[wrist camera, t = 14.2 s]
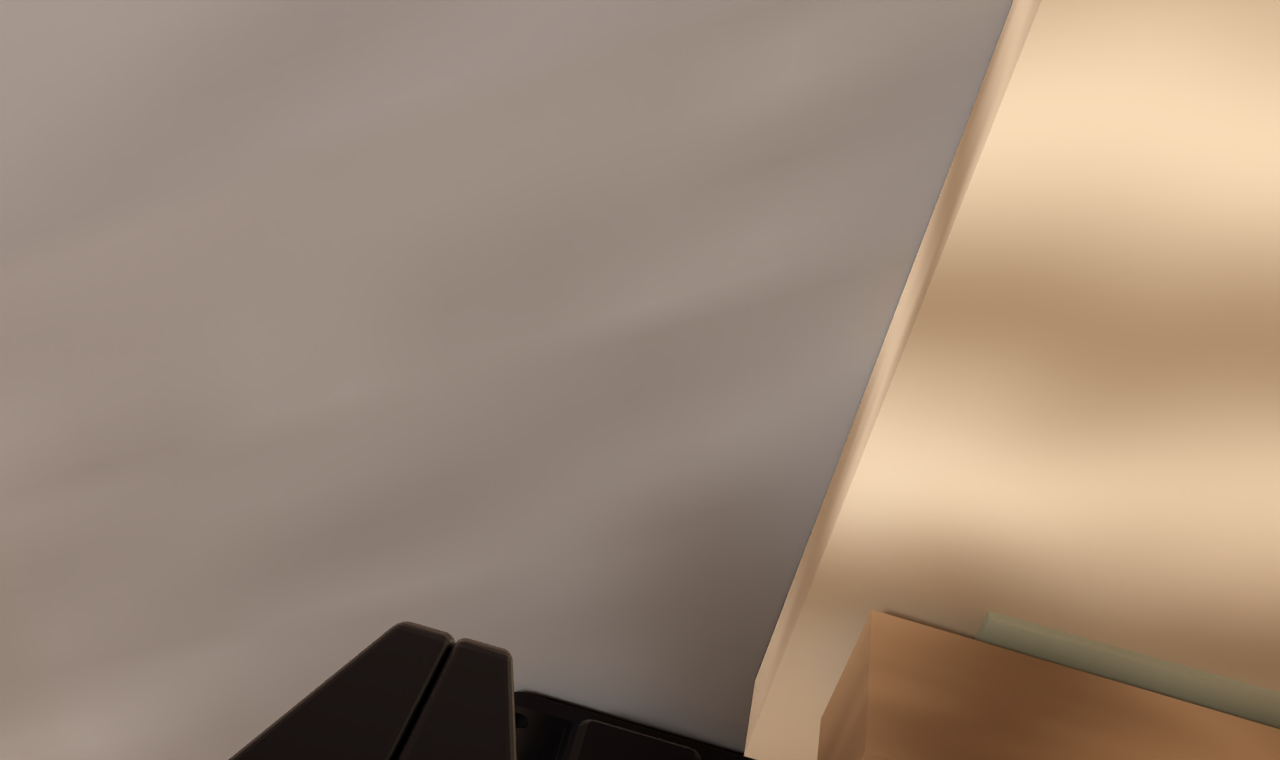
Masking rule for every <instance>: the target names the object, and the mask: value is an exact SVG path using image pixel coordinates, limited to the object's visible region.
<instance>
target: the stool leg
mask: <svg viewBox="0 0 1280 760" xmlns="http://www.w3.org/2000/svg"><path fill="white" fill-rule="evenodd" d="M817 760H1280V729H1277V728H1274V727H1270V726H1267V725H1263V724H1260V723H1257V722H1253V721H1250V720H1246V719H1243V718H1240V717H1236V716H1233V715H1229V714H1226V713H1223V712H1219V711H1216V710H1212V709H1209V708H1206V707H1202V706H1199V705H1195V704H1192V703H1189V702H1185V701H1182V700H1178V699H1175V698H1171V697H1168V696H1165V695H1161V694H1158V693H1154V692H1151V691H1148V690H1144V689H1141V688H1137V687H1134V686H1131V685H1127V684H1124V683H1120V682H1117V681H1114V680H1110V679H1107V678H1103V677H1100V676H1097V675H1093V674H1090V673H1086V672H1083V671H1080V670H1076V669H1073V668H1069V667H1066V666H1062V665H1059V664H1056V663H1052V662H1049V661H1045V660H1042V659H1039V658H1035V657H1032V656H1028V655H1025V654H1022V653H1018V652H1015V651H1011V650H1008V649H1005V648H1001V647H998V646H994V645H991V644H988V643H984V642H981V641H977V640H974V639H971V638H967V637H964V636H960V635H957V634H953V633H950V632H947V631H943V630H940V629H936V628H933V627H930V626H926V625H923V624H919V623H916V622H913V621H909V620H906V619H902V618H899V617H896V616H892V615H889V614H885V613H882V612H879V611H875V610H872V611H871V613H870V615H869V617H868V619H867V621H866V623H865V626H864V628H863V630H862V632H861V634H860V636H859V638H858V640H857V643H856V645H855V647H854V649H853V651H852V653H851V655H850V658H849V660H848V662H847V664H846V666H845V668H844V670H843V672H842V675H841V677H840V679H839V681H838V683H837V685H836V687H835V690H834V692H833V694H832V696H831V698H830V700H829V702H828V705H827V707H826V709H825V711H824V713H823V715H822V717H821V723H820V734H819V745H818V757H817Z"/></svg>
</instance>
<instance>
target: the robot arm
mask: <svg viewBox="0 0 1280 760" xmlns="http://www.w3.org/2000/svg"><path fill="white" fill-rule="evenodd" d="M229 760H756V759H752V758H749V757H745V756H742V755H738V754H735V753H732V752H728V751H725V750H721V749H718V748H714V747H711V746H707V745H704V744H701V743H697V742H694V741H690V740H687V739H683V738H680V737H676V736H673V735H669V734H666V733H663V732H659V731H656V730H652V729H649V728H645V727H642V726H638V725H635V724H632V723H628V722H625V721H621V720H618V719H614V718H611V717H607V716H604V715H601V714H597V713H594V712H590V711H587V710H583V709H580V708H576V707H573V706H569V705H566V704H563V703H559V702H556V701H552V700H549V699H545V698H542V697H538V696H535V695H532V694H528V693H523V692H514V681H513V661H512V656H511V654H510V653H509V652H508V651H507V650H505V649H503V648H499V647H496V646H492V645H489V644H485V643H482V642H478V641H475V640H471V639H467V638H463V639H460V640H458V641H457V642H456V643H455V641H454V638H453V637H452V636H451V635H450V634H448V633H447V632H444V631H440V630H437V629H433V628H430V627H426V626H423V625H419V624H416V623H412V622H402V623H398V624H396V625H395V626H393V627H392V628H390V629H389V630H388V631H387V632H385V633H384V634H383V635H382V636H380V637H379V638H378V639H377V640H375V641H374V642H373V643H372V644H371V645H369V646H368V647H367V648H366V649H364V650H363V651H362V652H361V653H359V654H358V655H357V656H356V657H355V658H353V659H352V660H351V661H350V662H348V663H347V664H346V665H345V666H343V667H342V668H341V669H340V670H339V671H337V672H336V673H335V674H334V675H332V676H331V677H330V678H329V679H327V680H326V681H325V682H324V683H322V684H321V685H320V686H319V687H318V688H316V689H315V690H314V691H313V692H311V693H310V694H309V695H308V696H306V697H305V698H304V699H303V700H302V701H300V702H299V703H298V704H297V705H295V706H294V707H293V708H292V709H290V710H289V711H288V712H287V713H286V714H284V715H283V716H282V717H281V718H279V719H278V720H277V721H276V722H274V723H273V724H272V725H271V726H270V727H268V728H267V729H266V730H265V731H263V732H262V733H261V734H260V735H258V736H257V737H256V738H255V739H253V740H252V741H251V742H250V743H249V744H247V745H246V746H245V747H244V748H242V749H241V750H240V751H239V752H237V753H236V754H235V755H234V756H233V757H231V758H230V759H229Z"/></svg>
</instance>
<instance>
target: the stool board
mask: <svg viewBox="0 0 1280 760" xmlns="http://www.w3.org/2000/svg"><path fill="white" fill-rule="evenodd" d="M872 610H875V611H879V612H882V613H885V614H889V615H892V616H896V617H899V618H902V619H906V620H909V621H913V622H916V623H919V624H923V625H926V626H930V627H933V628H936V629H940V630H943V631H947V632H950V633H953V634H957V635H960V636H964V637H967V638H971V639H974V640H977V641H981V642H984V643H988V644H991V645H994V646H998V647H1001V648H1005V649H1008V650H1011V651H1015V652H1018V653H1022V654H1025V655H1028V656H1032V657H1035V658H1039V659H1042V660H1045V661H1049V662H1052V663H1056V664H1059V665H1062V666H1066V667H1069V668H1073V669H1076V670H1080V671H1083V672H1086V673H1090V674H1093V675H1097V676H1100V677H1103V678H1107V679H1110V680H1114V681H1117V682H1120V683H1124V684H1127V685H1131V686H1134V687H1137V688H1141V689H1144V690H1148V691H1151V692H1154V693H1158V694H1161V695H1165V696H1168V697H1171V698H1175V699H1178V700H1182V701H1185V702H1189V703H1192V704H1195V705H1199V706H1202V707H1206V708H1209V709H1212V710H1216V711H1219V712H1223V713H1226V714H1229V715H1233V716H1236V717H1240V718H1243V719H1246V720H1250V721H1253V722H1257V723H1260V724H1263V725H1267V726H1270V727H1274V728H1277V729H1280V0H1014V1H1013V4H1012V6H1011V9H1010V11H1009V14H1008V17H1007V19H1006V22H1005V25H1004V27H1003V30H1002V32H1001V35H1000V38H999V40H998V43H997V46H996V48H995V51H994V54H993V56H992V59H991V61H990V64H989V67H988V69H987V72H986V75H985V77H984V80H983V82H982V85H981V88H980V90H979V93H978V96H977V98H976V101H975V104H974V106H973V109H972V111H971V114H970V117H969V119H968V122H967V125H966V127H965V130H964V132H963V135H962V138H961V140H960V143H959V146H958V148H957V151H956V153H955V156H954V159H953V161H952V164H951V167H950V169H949V172H948V175H947V177H946V180H945V182H944V185H943V188H942V190H941V193H940V196H939V198H938V201H937V203H936V206H935V209H934V211H933V214H932V217H931V219H930V222H929V225H928V227H927V230H926V232H925V235H924V238H923V240H922V243H921V246H920V248H919V251H918V253H917V256H916V259H915V261H914V264H913V267H912V269H911V272H910V275H909V277H908V280H907V282H906V285H905V288H904V290H903V293H902V296H901V298H900V301H899V303H898V306H897V309H896V311H895V314H894V317H893V319H892V322H891V325H890V327H889V330H888V332H887V335H886V338H885V340H884V343H883V346H882V348H881V351H880V353H879V356H878V359H877V361H876V364H875V367H874V369H873V372H872V375H871V377H870V380H869V382H868V385H867V388H866V390H865V393H864V396H863V398H862V401H861V403H860V406H859V409H858V411H857V414H856V417H855V419H854V422H853V424H852V427H851V430H850V432H849V435H848V438H847V440H846V443H845V446H844V448H843V451H842V453H841V456H840V459H839V461H838V464H837V467H836V469H835V472H834V474H833V477H832V480H831V482H830V485H829V488H828V490H827V493H826V496H825V498H824V501H823V503H822V506H821V509H820V511H819V514H818V517H817V519H816V522H815V524H814V527H813V530H812V532H811V535H810V538H809V540H808V543H807V546H806V548H805V551H804V553H803V556H802V559H801V561H800V564H799V567H798V569H797V572H796V574H795V577H794V580H793V582H792V585H791V588H790V590H789V593H788V596H787V598H786V601H785V603H784V606H783V609H782V611H781V614H780V617H779V619H778V622H777V624H776V627H775V630H774V632H773V635H772V638H771V640H770V643H769V646H768V648H767V651H766V653H765V656H764V659H763V661H762V664H761V667H760V669H759V672H758V674H757V677H756V680H755V685H754V692H753V699H752V705H751V712H750V718H749V725H748V732H747V738H746V745H745V752H744V756H746V757H749V758H752V759H756V760H817V757H818V745H819V734H820V723H821V717H822V715H823V713H824V711H825V709H826V707H827V705H828V702H829V700H830V698H831V696H832V694H833V692H834V690H835V687H836V685H837V683H838V681H839V679H840V677H841V675H842V672H843V670H844V668H845V666H846V664H847V662H848V660H849V658H850V655H851V653H852V651H853V649H854V647H855V645H856V643H857V640H858V638H859V636H860V634H861V632H862V630H863V628H864V626H865V623H866V621H867V619H868V617H869V615H870V613H871V611H872Z"/></svg>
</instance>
